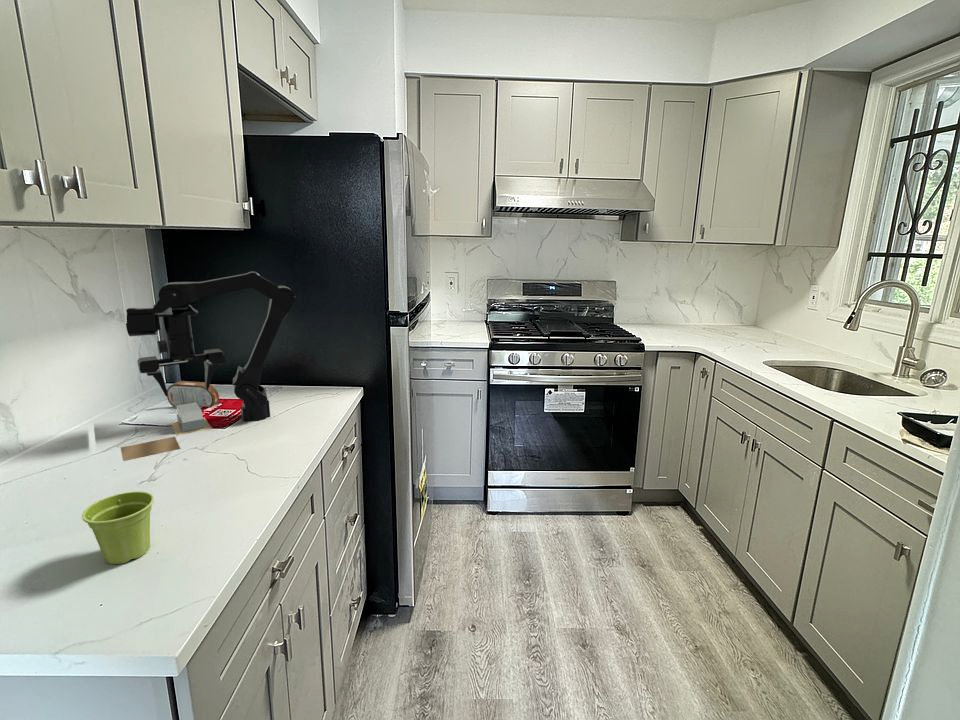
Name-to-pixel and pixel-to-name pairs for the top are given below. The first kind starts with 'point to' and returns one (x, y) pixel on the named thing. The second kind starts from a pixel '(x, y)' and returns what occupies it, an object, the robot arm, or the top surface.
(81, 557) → the top surface
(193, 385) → the tin
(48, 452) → the top surface
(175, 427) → the oak stand
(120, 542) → the plant pot
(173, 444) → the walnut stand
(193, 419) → the block
